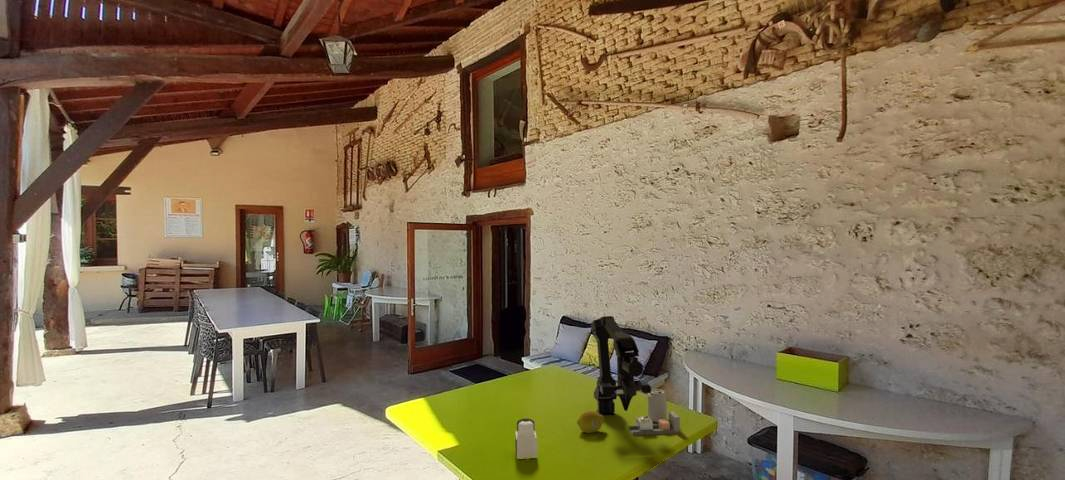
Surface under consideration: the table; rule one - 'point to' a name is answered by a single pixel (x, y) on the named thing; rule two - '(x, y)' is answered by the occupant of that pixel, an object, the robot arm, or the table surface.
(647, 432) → the gauge bench
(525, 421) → the medicine bottle
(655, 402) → the can
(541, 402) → the table surface
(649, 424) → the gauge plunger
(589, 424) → the lemon
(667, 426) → the block
